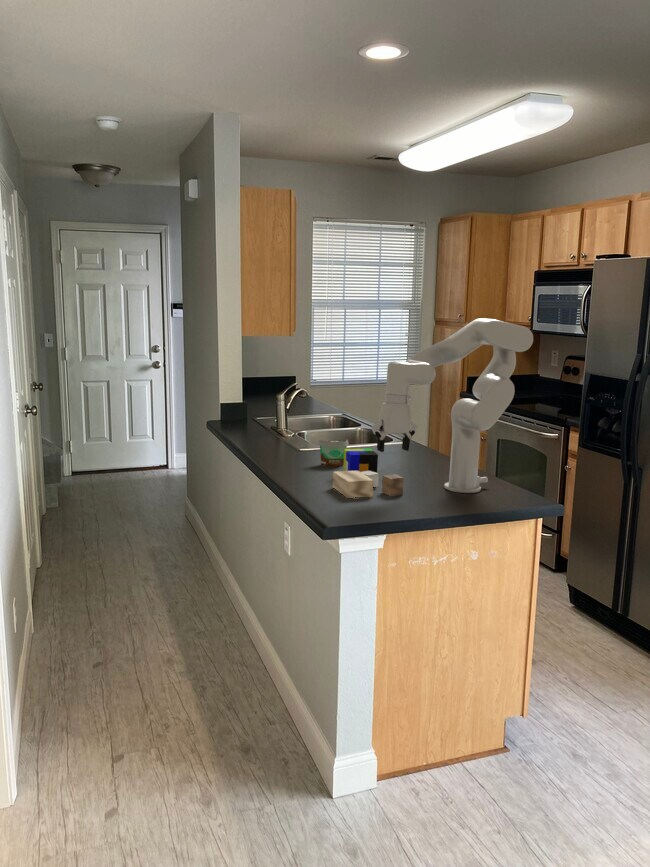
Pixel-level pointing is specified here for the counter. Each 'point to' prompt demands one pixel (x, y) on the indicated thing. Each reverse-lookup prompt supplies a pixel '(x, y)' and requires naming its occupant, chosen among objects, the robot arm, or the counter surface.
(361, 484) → the maple block
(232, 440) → the counter surface
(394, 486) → the walnut block
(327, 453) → the food container
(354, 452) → the puzzle toy
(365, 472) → the offwhite cube
